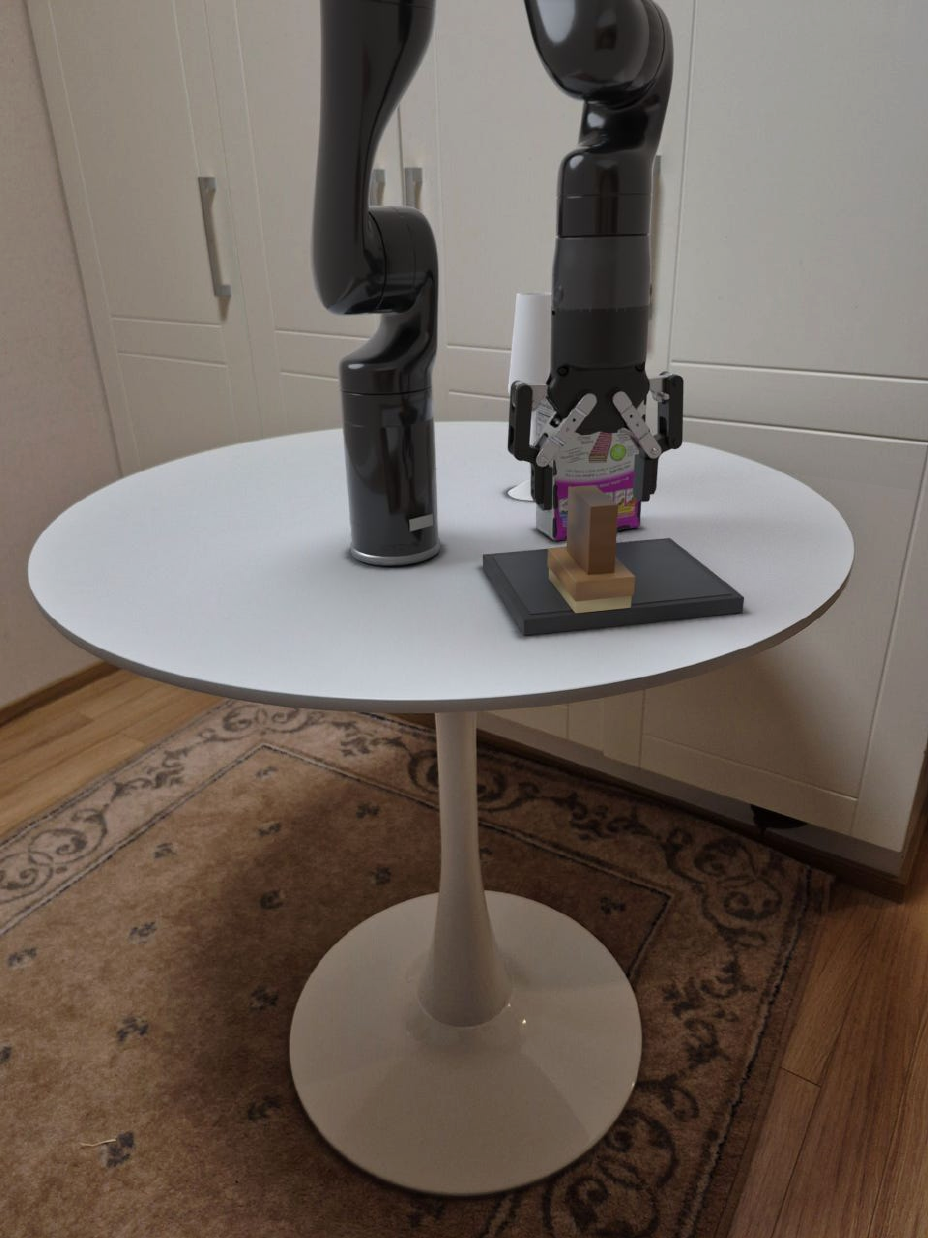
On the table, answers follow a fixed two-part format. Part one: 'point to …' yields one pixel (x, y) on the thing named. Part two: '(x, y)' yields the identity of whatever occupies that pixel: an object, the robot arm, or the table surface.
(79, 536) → the table surface
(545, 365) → the champagne flute
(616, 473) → the candy bar box
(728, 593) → the panel
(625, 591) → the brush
